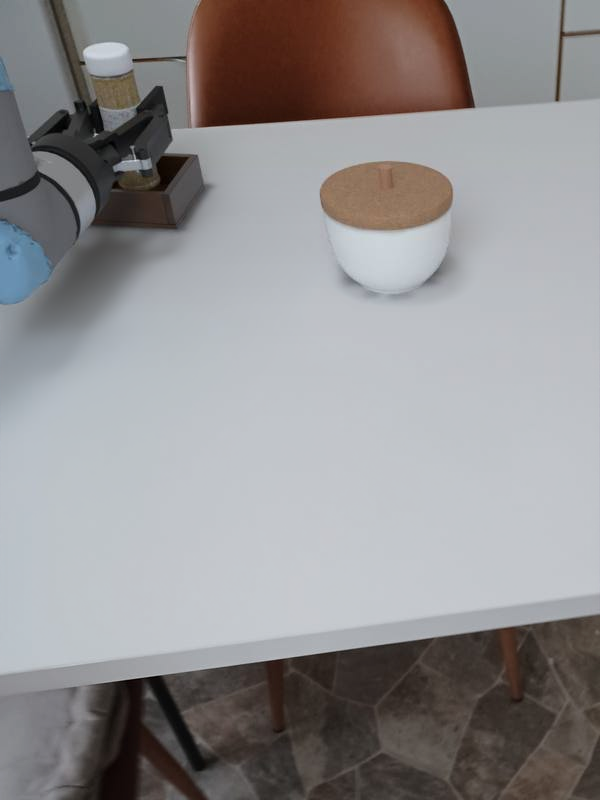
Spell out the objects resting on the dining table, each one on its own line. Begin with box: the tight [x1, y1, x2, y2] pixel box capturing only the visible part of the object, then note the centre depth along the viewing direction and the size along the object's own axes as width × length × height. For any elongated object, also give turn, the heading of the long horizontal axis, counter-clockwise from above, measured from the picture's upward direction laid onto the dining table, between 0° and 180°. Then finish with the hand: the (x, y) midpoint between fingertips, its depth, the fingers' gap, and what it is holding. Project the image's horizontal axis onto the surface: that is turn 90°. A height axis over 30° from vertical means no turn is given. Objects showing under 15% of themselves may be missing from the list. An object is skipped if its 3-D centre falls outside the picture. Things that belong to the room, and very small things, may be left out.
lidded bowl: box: [319, 160, 454, 295], centre depth 93 cm, size 13×13×11 cm
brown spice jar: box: [82, 41, 160, 191], centre depth 101 cm, size 5×5×14 cm
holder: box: [89, 152, 205, 230], centre depth 106 cm, size 11×11×4 cm
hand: (139, 98), depth 104 cm, fingers closed on brown spice jar, 4 cm apart
